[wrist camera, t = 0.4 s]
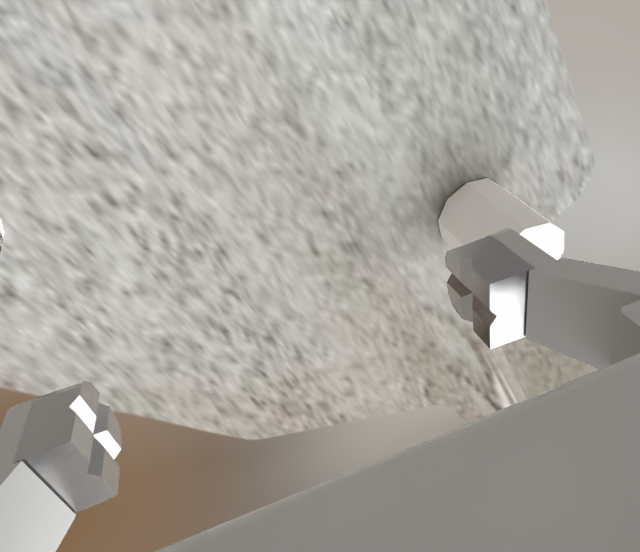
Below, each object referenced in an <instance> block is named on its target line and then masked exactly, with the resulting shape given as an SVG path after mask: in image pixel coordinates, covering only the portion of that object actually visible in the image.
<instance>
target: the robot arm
mask: <svg viewBox="0 0 640 552" xmlns="http://www.w3.org/2000/svg"><path fill="white" fill-rule="evenodd" d="M445 261H446V267H447V268H448V269H449V270H450V271H451V272H452V274H451V276H450V278H449V279H448V281H447V287H448V294H449V297H450V300H451V303H452V305H453V307H454V308H455V310H456V312H457V313H458V314H459V315H460V316H461V318H462V319H464V320H468V321H471V322H473V331H474V332H475V333H476V334H477V335H478V336H479V337H480V339H481V340H482V341H483V342H484V343H485V344H486V345H487V346H488V347H489V348H490V349H493V348H495V347H498V346H501V345H504V344H506V343H509V342H512V341H515V340H517V339H520V338H523V337H525V338H526V339H528V340H530V341H533V342H535V343H538V344H540V345H542V346H545V347H547V348H550V349H552V350H554V351H557V352H559V353H562V354H564V355H567V356H569V357H571V358H574V359H576V360H579V361H581V362H583V363H586V364H588V365H591V366H593V367H596V368H598V369H599V370H597V371H595V372H592V373H589V374H587V375H584V376H582V377H580V378H577V379H575V380H572V381H570V382H567V383H565V384H563V385H560V386H558V387H555V388H553V389H550V390H548V391H545V392H543V393H541V394H538V395H536V396H533V397H531V398H528V399H526V400H523V401H521V402H519V403H516V404H514V405H511V406H509V407H506V408H504V409H501V410H499V411H497V412H494V413H492V414H489V415H487V416H484V417H482V418H479V419H477V420H475V421H472V422H470V423H467V424H465V425H462V426H460V427H457V428H455V429H453V430H451V431H448V432H445V433H443V434H440V435H438V436H436V437H433V438H431V439H428V440H426V441H423V442H421V443H419V444H416V445H413V446H411V447H409V448H406V449H404V450H401V451H399V452H396V453H394V454H392V455H389V456H387V457H384V458H382V459H379V460H377V461H374V462H372V463H369V464H367V465H365V466H362V467H360V468H357V469H355V470H352V471H350V472H348V473H345V474H343V475H340V476H338V477H335V478H333V479H330V480H328V481H326V482H323V483H321V484H318V485H316V486H313V487H311V488H308V489H306V490H304V491H301V492H299V493H296V494H294V495H292V496H289V497H286V498H284V499H282V500H279V501H277V502H274V503H272V504H269V505H267V506H265V507H262V508H260V509H257V510H255V511H253V512H250V513H248V514H245V515H243V516H240V517H238V518H235V519H233V520H230V521H228V522H226V523H223V524H221V525H218V526H216V527H213V528H211V529H208V530H206V531H204V532H201V533H199V534H196V535H194V536H191V537H189V538H186V539H184V540H182V541H179V542H177V543H174V544H172V545H169V546H167V547H164V548H162V549H160V550H157V551H155V552H640V272H638V271H633V270H627V269H622V268H616V267H611V266H605V265H599V264H594V263H588V262H583V261H577V260H572V259H566V258H561V259H559V260H556V259H555V258H553V257H552V256H550V255H549V254H547V253H546V252H544V251H543V250H542V249H540V248H539V247H537V246H536V245H534V244H533V243H531V242H530V241H529V240H527V239H526V238H524V237H523V236H521V235H520V234H518V233H517V232H516V231H514V230H513V229H509V228H505V229H503V230H500V231H498V232H495V233H493V234H490V235H488V236H486V237H484V238H482V239H479V240H476V241H473V242H471V243H468V244H465V245H462V246H460V247H457V248H454V249H452V250H449V251H447V252H446V256H445ZM98 400H99V392H98V391H97V390H96V388H95V387H94V386H93V385H92V383H90V382H82V383H79V384H76V385H73V386H70V387H67V388H64V389H61V390H58V391H55V392H52V393H49V394H46V395H43V396H40V397H38V398H36V399H32V400H30V401H27V402H24V403H21V404H18V405H15V406H13V407H12V408H10V409H9V410H8V411H7V413H6V416H5V419H4V422H3V424H2V427H1V430H0V552H55V551H56V550H57V548H58V546H59V545H60V543H61V541H62V539H63V538H64V536H65V534H66V532H67V531H68V529H69V527H70V525H71V523H72V522H73V520H74V518H75V516H76V514H75V513H77V512H79V511H82V510H84V509H86V508H89V507H91V506H93V505H96V504H98V503H101V502H103V501H105V500H108V499H110V498H112V497H115V496H117V495H118V483H119V472H120V467H119V465H118V464H117V463H116V461H115V460H114V459H115V457H116V456H117V454H118V453H119V452H120V450H121V444H122V443H121V442H122V435H121V431H120V425H119V422H118V420H117V418H116V416H115V414H114V413H113V411H112V410H111V408H110V407H108V406H106V405H103V404H100V403H98Z"/></svg>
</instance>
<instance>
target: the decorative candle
mask: <svg viewBox="0 0 640 552" xmlns="http://www.w3.org/2000/svg"><path fill="white" fill-rule="evenodd" d="M4 234H5V232H4V228H3V223H2V219H1V218H0V252H1V244H2V241H3V237H4Z"/></svg>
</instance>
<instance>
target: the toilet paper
mask: <svg viewBox="0 0 640 552" xmlns="http://www.w3.org/2000/svg"><path fill="white" fill-rule="evenodd" d="M438 223H439V228H440V232H441V237H442V239H443V240H444V241H445V242H446V243H447V244H448V245H449V246H450V247H451V248H452V249H454V248H457V247H460V246H462V245H465V244H468V243H471V242H473V241H476V240H479V239H482V238H484V237H486V236H488V235H490V234H493V233H495V232H498V231H500V230H503V229H505V228H509V229H513V230H514V231H516V232H517V233H518V234H520V235H521V236H523V237H524V238H526V239H527V240H529V241H530V242H531V243H533V244H534V245H536V246H537V247H539V248H540V249H542V250H543V251H544V252H546V253H547V254H549V255H550V256H552V257H553V258H555V259H556V260H559V258H560V257H561V255H562V253H563V252H564V231H563V230H561V229H560V228H558V227H557V226H556V225H554V224H553V223H552V222H550V221H549V220H547V219H546V218H545V217H543V216H542V215H540V214H539V213H538V212H536V211H535V210H534V209H532V208H531V207H529V206H528V205H527V204H525V203H524V202H522V201H521V200H520V199H518V198H517V197H516V196H514V195H513V194H511V193H510V192H509V191H507V190H506V189H504V188H503V187H502V186H500V185H498V184H497V183H495V182H494V181H492V180H491V179H489V178H485V179H481V180H476V181H472V182H467V183H466V184H464V185H463V186H462V187H461V188H460V189H459V190H457V191H456V192H455V193H454V194H453V195H452V196H451V197H449V198H448V199H447V201H446V203H445V206H444V208H443V210H442V212H441V215H440V217H439V219H438Z"/></svg>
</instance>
